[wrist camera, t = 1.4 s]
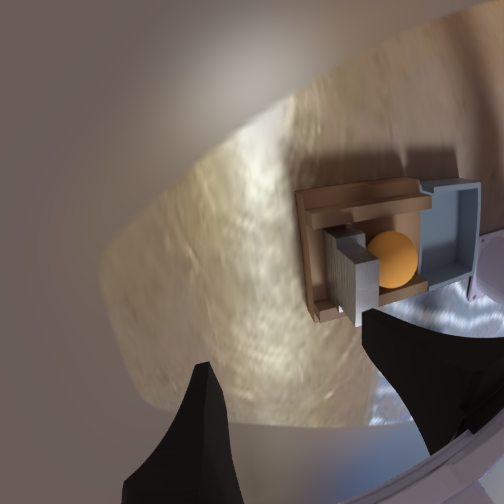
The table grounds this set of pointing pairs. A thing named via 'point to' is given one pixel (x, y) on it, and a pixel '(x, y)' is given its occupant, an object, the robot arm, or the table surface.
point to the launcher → (365, 219)
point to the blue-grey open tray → (449, 231)
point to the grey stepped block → (350, 271)
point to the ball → (394, 258)
